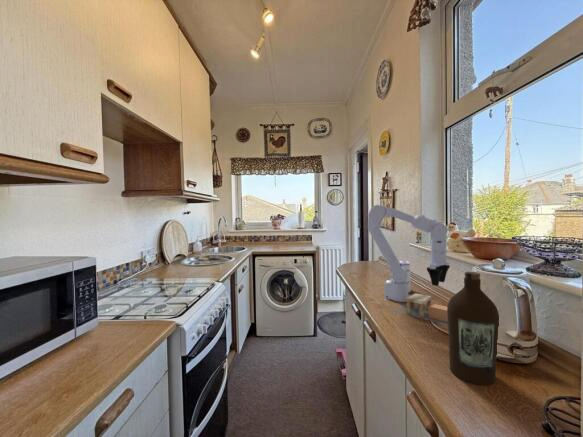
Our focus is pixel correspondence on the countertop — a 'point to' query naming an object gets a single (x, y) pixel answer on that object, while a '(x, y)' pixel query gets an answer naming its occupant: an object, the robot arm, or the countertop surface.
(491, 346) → the olive oil
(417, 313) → the board
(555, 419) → the countertop surface
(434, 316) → the terracotta block
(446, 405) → the countertop surface
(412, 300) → the wooden tunnel
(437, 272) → the robot arm
